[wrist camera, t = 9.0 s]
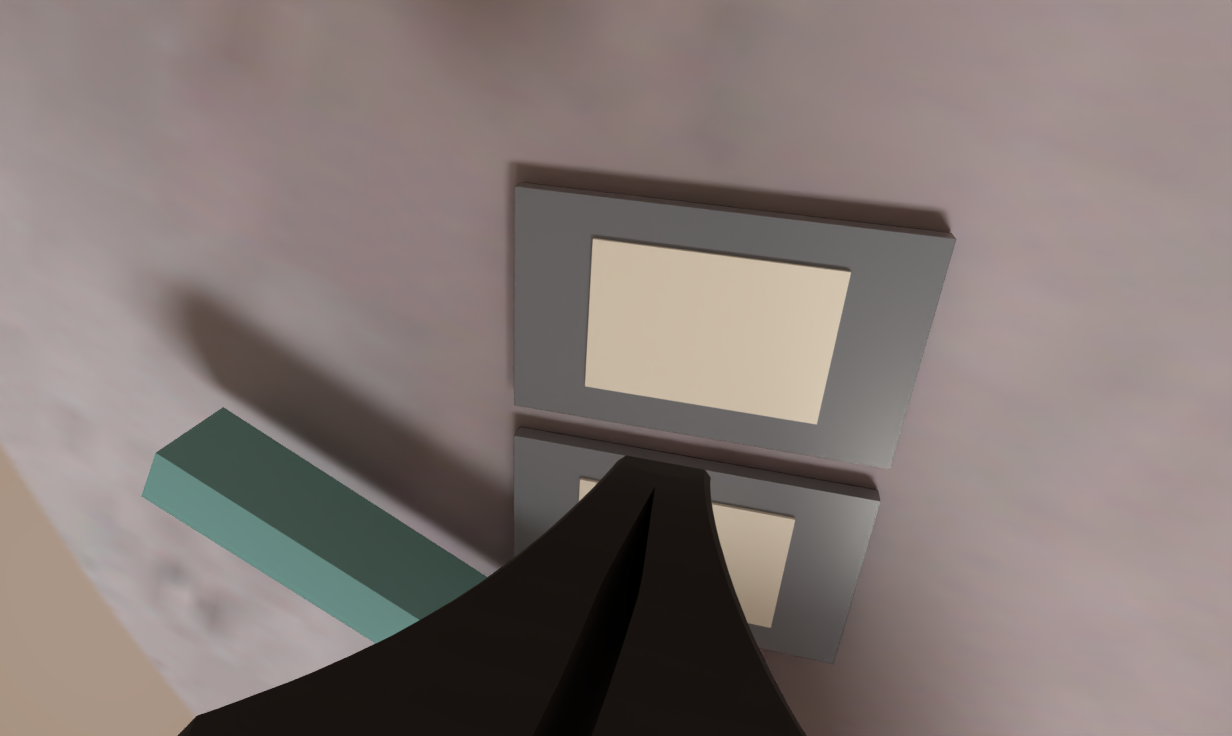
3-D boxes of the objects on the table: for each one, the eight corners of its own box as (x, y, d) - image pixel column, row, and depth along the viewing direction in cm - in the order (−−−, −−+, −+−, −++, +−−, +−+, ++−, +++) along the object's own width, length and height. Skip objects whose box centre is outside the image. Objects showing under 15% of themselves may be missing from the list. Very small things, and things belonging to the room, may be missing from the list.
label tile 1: (887, 458, 18) (889, 472, 18) (520, 396, 20) (513, 406, 20) (951, 233, 16) (957, 239, 15) (521, 182, 17) (513, 187, 17)
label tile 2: (832, 651, 22) (833, 667, 21) (518, 583, 23) (512, 596, 23) (878, 490, 19) (880, 503, 18) (520, 426, 20) (512, 437, 20)
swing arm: (766, 731, 22) (762, 878, 18) (698, 783, 23) (681, 927, 20) (231, 385, 20) (106, 466, 17) (200, 467, 22) (81, 556, 18)
